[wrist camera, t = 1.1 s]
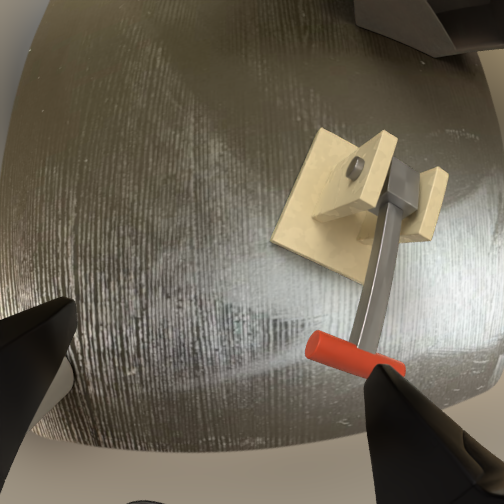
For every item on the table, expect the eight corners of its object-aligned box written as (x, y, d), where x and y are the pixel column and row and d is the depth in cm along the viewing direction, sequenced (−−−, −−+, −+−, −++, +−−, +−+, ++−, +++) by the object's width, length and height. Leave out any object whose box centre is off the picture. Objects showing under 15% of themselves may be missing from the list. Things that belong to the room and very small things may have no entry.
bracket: (366, 286, 26) (438, 301, 16) (269, 241, 25) (303, 232, 15) (404, 182, 26) (477, 154, 16) (317, 132, 25) (365, 75, 16)
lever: (379, 386, 15) (409, 387, 12) (296, 358, 14) (319, 357, 12) (414, 201, 19) (437, 184, 17) (352, 164, 19) (372, 142, 17)
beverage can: (77, 400, 23) (11, 472, 11) (32, 385, 22) (-43, 442, 10) (76, 349, 23) (-4, 406, 11) (30, 336, 22) (-58, 377, 10)
